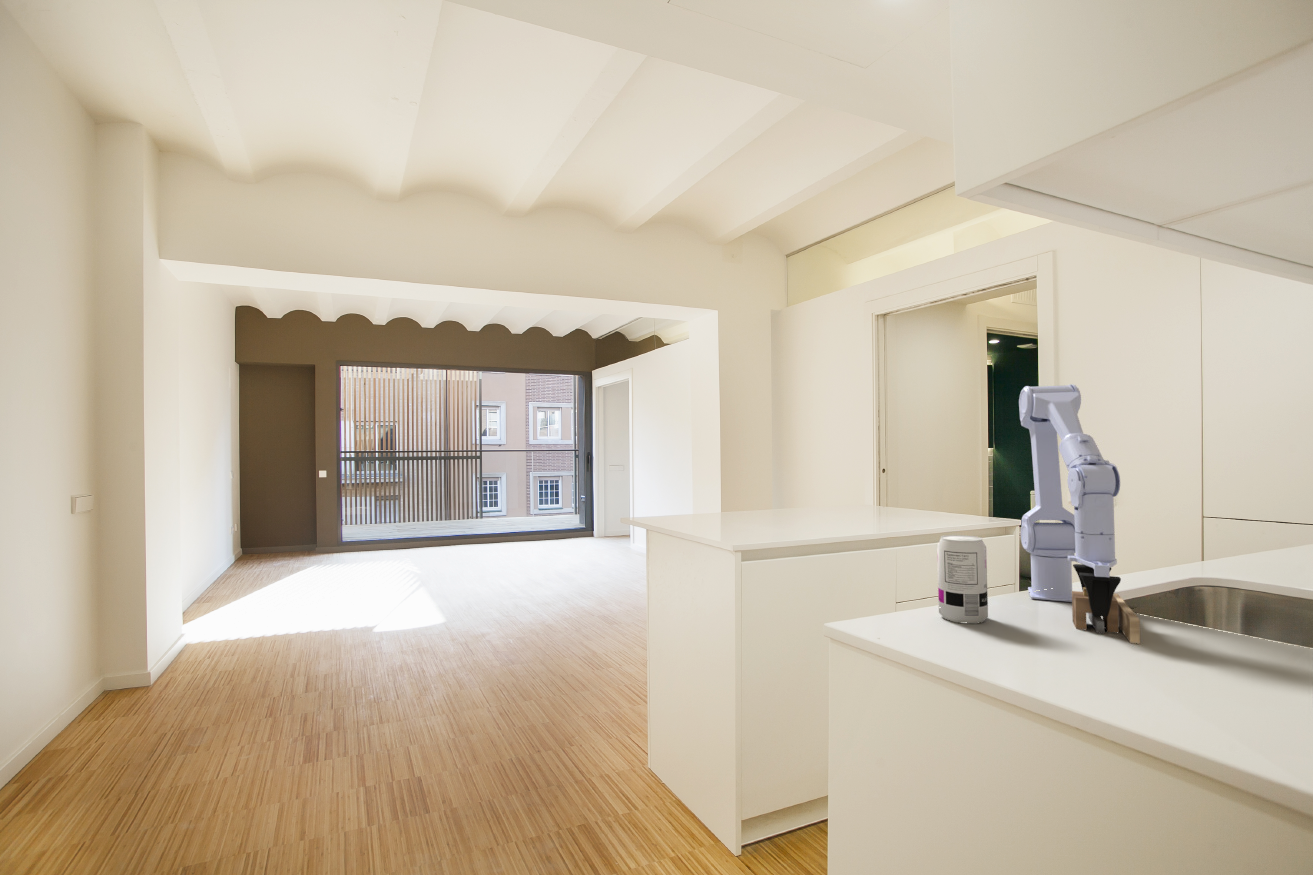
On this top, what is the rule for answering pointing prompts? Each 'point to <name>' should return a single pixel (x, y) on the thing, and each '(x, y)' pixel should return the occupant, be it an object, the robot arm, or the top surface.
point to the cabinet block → (1083, 606)
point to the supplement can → (962, 578)
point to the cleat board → (1121, 621)
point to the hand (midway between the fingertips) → (1096, 610)
